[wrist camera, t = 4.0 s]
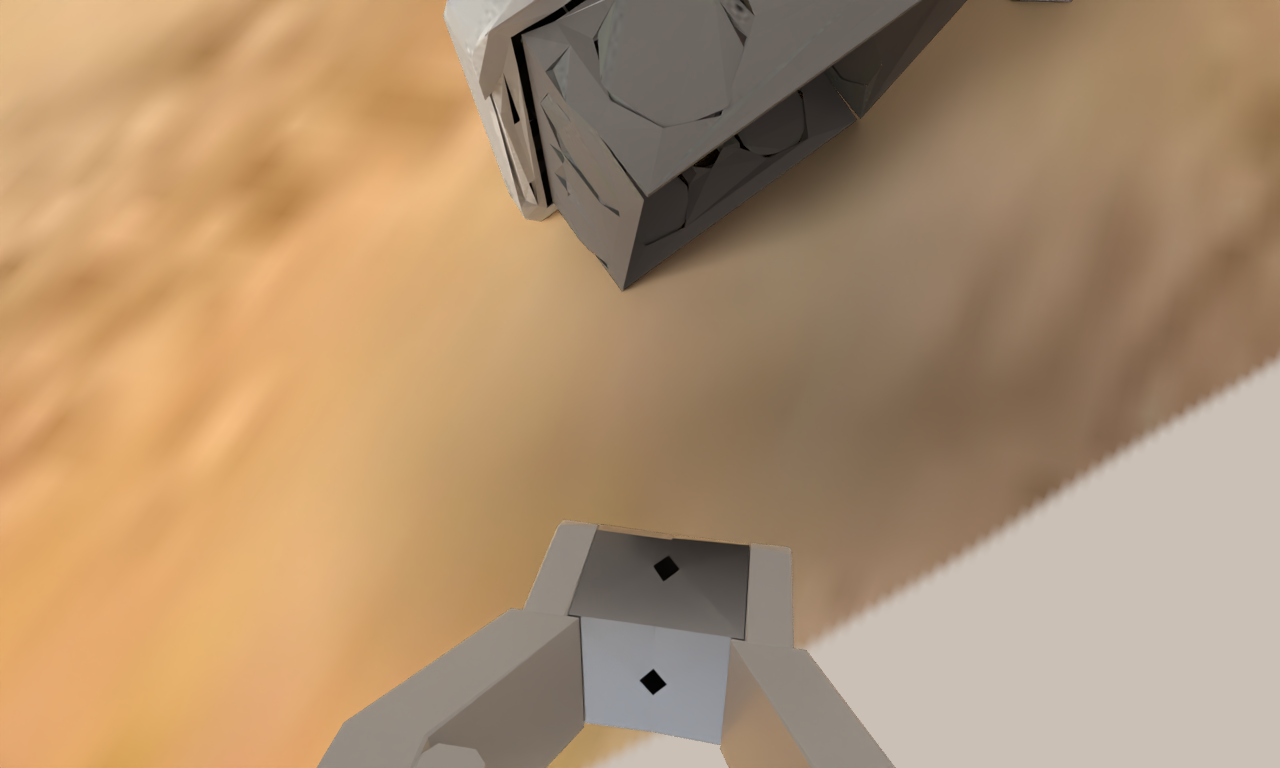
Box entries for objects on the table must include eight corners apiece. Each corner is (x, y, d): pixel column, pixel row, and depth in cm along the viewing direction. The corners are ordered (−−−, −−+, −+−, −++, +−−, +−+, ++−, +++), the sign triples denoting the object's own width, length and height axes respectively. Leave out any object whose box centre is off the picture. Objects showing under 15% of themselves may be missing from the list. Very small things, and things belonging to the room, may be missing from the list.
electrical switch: (791, 11, 19) (893, -441, 10) (917, 147, 18) (1153, -219, 9) (512, 208, 19) (356, -90, 10) (629, 361, 18) (579, 189, 9)
